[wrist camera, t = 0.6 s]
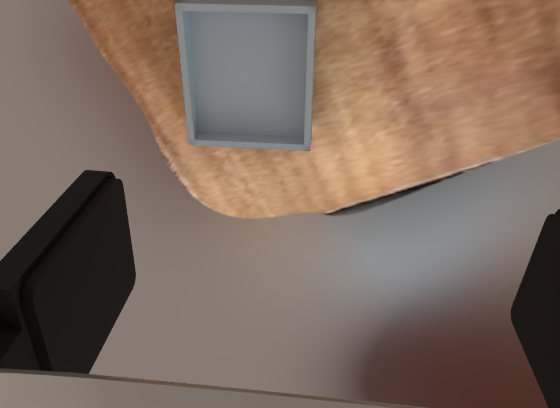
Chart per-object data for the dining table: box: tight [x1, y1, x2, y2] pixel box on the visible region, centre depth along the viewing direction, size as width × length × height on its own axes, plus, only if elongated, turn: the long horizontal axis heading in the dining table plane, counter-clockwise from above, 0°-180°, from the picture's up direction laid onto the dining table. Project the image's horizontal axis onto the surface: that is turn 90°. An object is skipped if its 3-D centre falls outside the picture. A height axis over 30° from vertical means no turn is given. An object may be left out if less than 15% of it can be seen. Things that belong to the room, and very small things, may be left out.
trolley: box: [175, 0, 317, 151], centre depth 40 cm, size 12×10×6 cm
